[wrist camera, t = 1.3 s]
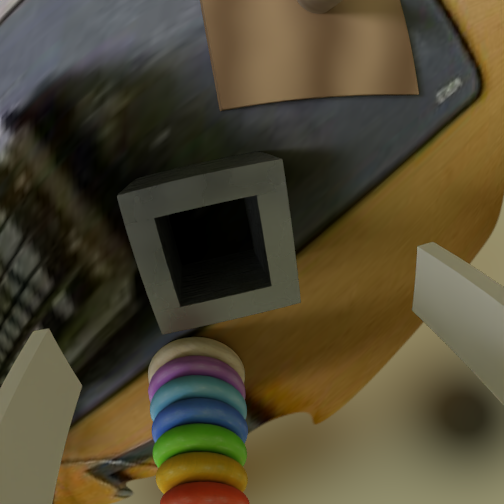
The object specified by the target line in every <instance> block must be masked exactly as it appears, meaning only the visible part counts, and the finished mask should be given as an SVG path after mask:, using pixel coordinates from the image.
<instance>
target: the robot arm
mask: <svg viewBox="0 0 504 504" xmlns="http://www.w3.org/2000/svg"><path fill="white" fill-rule="evenodd" d="M412 311H413V312H414V313H415V314H416V315H417V316H418V317H419V318H420V319H421V320H423V321H424V322H425V323H426V324H427V325H428V326H429V327H430V328H431V329H432V330H433V331H434V332H435V333H436V334H437V335H438V336H439V337H440V338H441V339H442V340H443V341H444V342H445V343H446V344H447V345H448V346H449V347H450V348H451V349H452V350H453V351H454V353H456V355H458V357H459V358H460V359H461V360H462V361H463V362H464V363H465V364H466V365H467V366H468V367H469V368H470V369H471V370H472V371H473V372H474V373H475V375H477V377H478V378H479V379H480V380H481V381H482V382H483V383H484V384H485V385H486V386H487V388H488V389H489V390H490V391H491V392H492V393H493V394H494V395H495V396H496V397H497V399H498V400H499V401H500V402H501V403H502V404H503V405H504V287H503V286H502V285H500V284H499V283H497V282H496V281H494V280H493V279H491V278H490V277H488V276H487V275H485V274H484V273H482V272H481V271H479V270H478V269H476V268H475V267H473V266H472V265H470V264H468V263H467V262H465V261H464V260H462V259H460V258H459V257H457V256H456V255H454V254H452V253H451V252H449V251H447V250H446V249H444V248H443V247H441V246H439V245H438V244H436V243H434V242H431V243H427V244H424V245H420V246H417V262H416V276H415V288H414V298H413V307H412ZM81 388H82V385H81V383H80V381H79V380H78V378H77V377H76V375H75V373H74V372H73V370H72V369H71V367H70V365H69V364H68V362H67V360H66V358H65V357H64V355H63V353H62V351H61V350H60V348H59V346H58V344H57V343H56V341H55V339H54V337H53V335H52V333H51V331H50V329H43V330H37V331H33V332H32V334H31V336H30V337H29V339H28V340H27V342H26V344H25V345H24V347H23V349H22V350H21V352H20V354H19V355H18V357H17V359H16V361H15V362H14V364H13V366H12V368H11V369H10V371H9V373H8V375H7V377H6V378H5V380H4V382H3V384H2V386H1V388H0V504H52V501H53V496H54V491H55V486H56V481H57V476H58V472H59V467H60V463H61V459H62V455H63V451H64V447H65V443H66V439H67V435H68V432H69V428H70V424H71V421H72V417H73V414H74V411H75V407H76V404H77V401H78V397H79V394H80V391H81Z"/></svg>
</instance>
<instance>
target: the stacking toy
mask: <svg viewBox="0 0 504 504" xmlns="http://www.w3.org/2000/svg"><path fill="white" fill-rule="evenodd" d="M148 379H149V389H148V393H149V399H150V402H151V404H150V414H151V418H152V420H153V425H152V436H153V439H154V441H155V445H154V448H153V458H154V461H155V463H156V465H157V467H158V470H157V473H156V483H157V485H158V488H159V489H160V490H161V492H162V493H163V494H164V495H163V497H162V499H161V501H160V504H249V500H248V498H247V497H246V495H245V494H244V493H243V491H244V490H245V488H246V485H247V481H248V480H247V479H248V478H247V474H246V472H245V469H244V468H243V466H244V464H245V462H246V458H247V452H246V447H245V441H246V439H247V435H248V427H247V423H246V421H245V419H246V415H247V407H246V403H245V386H244V381H245V370H244V366H243V364H242V361H241V360H240V358H239V356H238V355H237V354H236V353H235V352H234V351H233V350H232V349H231V348H229V347H228V346H226V345H225V344H223V343H221V342H219V341H216V340H213V339H209V338H204V337H187V338H182V339H178V340H175V341H172V342H170V343H168V344H167V345H165V346H163V347H162V348H161V349H160V350H159V351H158V352H157V353H156V354H155V355H154V357H153V358H152V360H151V363H150V365H149V370H148Z"/></svg>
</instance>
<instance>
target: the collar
mask: <svg viewBox="0 0 504 504" xmlns="http://www.w3.org/2000/svg"><path fill="white" fill-rule="evenodd" d="M240 198H244V201H245V207H246V212H247V218H248V223H249V229H250V234H251V240H252V246H253V249H252V250H248V251H243V252H239V253H234V254H230V255H225V256H221V257H217V258H212V259H208V260H203V261H199V262H195V263H190V264H186V265H182V263H181V260H180V256H179V252H178V249H177V245H176V241H175V237H174V234H173V230H172V226H171V222H170V218H169V214H173V213H177V212H181V211H186V210H190V209H194V208H199V207H203V206H208V205H212V204H217V203H221V202H226V201H231V200H235V199H240ZM117 199H118V202H119V206H120V210H121V213H122V217H123V220H124V224H125V227H126V231H127V234H128V237H129V241H130V244H131V247H132V250H133V253H134V257H135V260H136V263H137V266H138V269H139V272H140V275H141V278H142V281H143V284H144V286H145V289H146V292H147V295H148V298H149V301H150V303H151V306H152V309H153V311H154V314H155V317H156V319H157V322H158V325H159V327H160V330H161V332H162V334H167V333H172V332H177V331H182V330H187V329H192V328H196V327H201V326H206V325H210V324H215V323H219V322H224V321H228V320H232V319H237V318H241V317H245V316H249V315H253V314H258V313H262V312H266V311H270V310H274V309H278V308H282V307H286V306H290V305H293V304H297V303H301V299H300V290H299V281H298V272H297V263H296V255H295V247H294V239H293V231H292V223H291V216H290V208H289V201H288V194H287V187H286V180H285V173H284V166H283V160H282V159H281V158H278V157H275V156H272V155H269V154H266V153H263V152H260V151H258V152H252V153H246V154H241V155H236V156H231V157H226V158H221V159H216V160H211V161H206V162H202V163H197V164H193V165H188V166H184V167H179V168H175V169H171V170H167V171H163V172H159V173H155V174H151V175H147V176H143V177H139V178H136V179H135V180H134V181H133V182H131V183H130V184H129V185H128V186H127V187H126V188H125V189H124V190H123V191H121V192H120V193H119V194H118V195H117Z"/></svg>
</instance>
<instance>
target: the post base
mask: <svg viewBox="0 0 504 504" xmlns="http://www.w3.org/2000/svg"><path fill="white" fill-rule="evenodd" d="M200 3H201V9H202V15H203V20H204V26H205V31H206V37H207V42H208V48H209V54H210V59H211V65H212V70H213V76H214V81H215V87H216V92H217V98H218V103H219V108H220V111H223V110H229V109H235V108H241V107H247V106H254V105H261V104H268V103H276V102H284V101H293V100H303V99H314V98H326V97H341V96H364V95H419V91H418V84H417V77H416V71H415V65H414V60H413V54H412V49H411V44H410V39H409V35H408V30H407V26H406V22H405V18H404V14H403V10H402V6H401V2H400V0H200Z"/></svg>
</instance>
